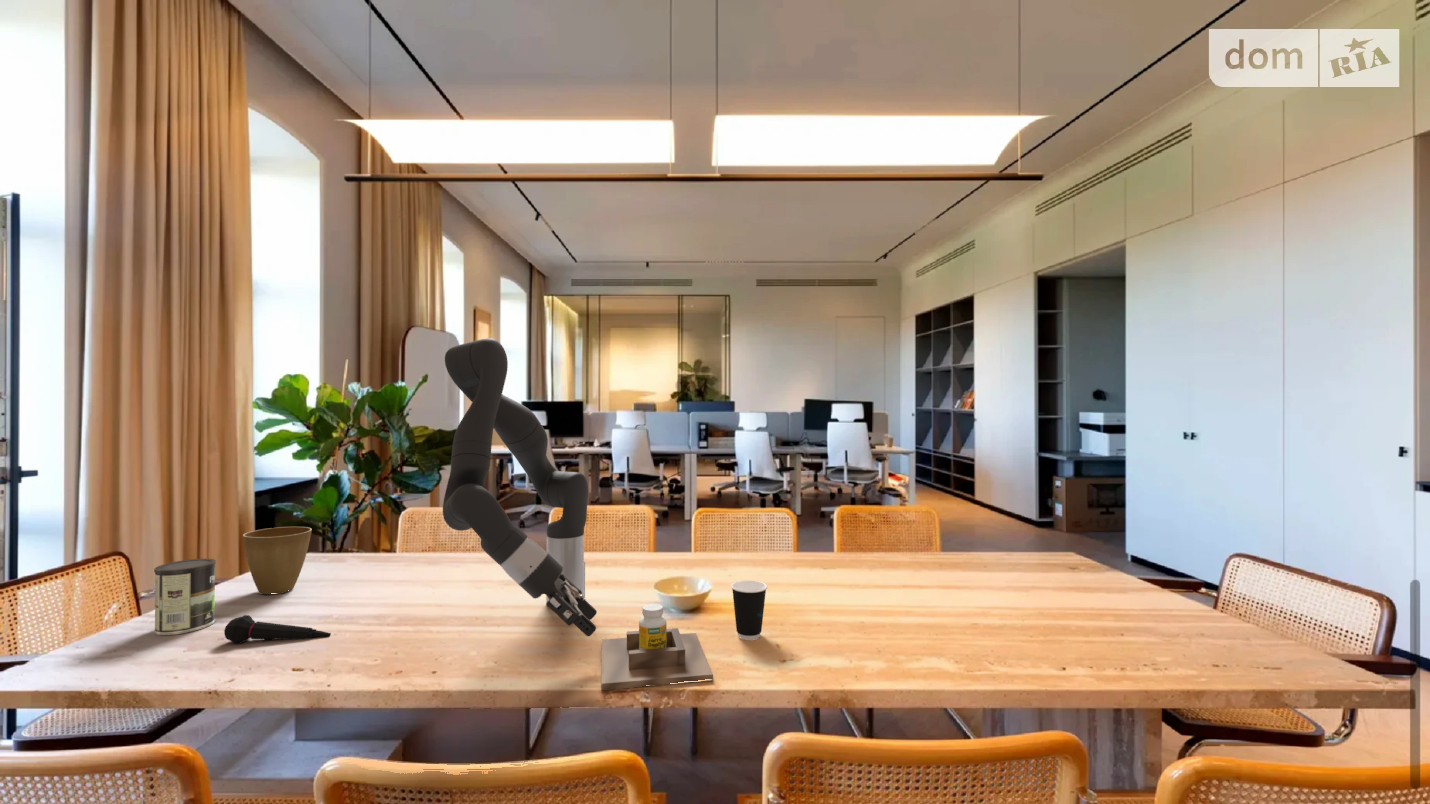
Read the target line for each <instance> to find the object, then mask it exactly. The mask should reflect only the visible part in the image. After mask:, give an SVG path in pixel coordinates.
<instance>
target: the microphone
mask: <svg viewBox="0 0 1430 804" xmlns="http://www.w3.org/2000/svg"><path fill="white" fill-rule="evenodd" d="M223 633H224V637H225V639H226V640H228V641H230V642H232V643H233V644H234V645H235V644H236V645H237V644H241V643H243V642H245V641H247V640H249V639H252V640H264V641H274V640H305V638H307V639H313V638H325V637H330V636H331V635H332V633H331V632H327V631H322V630H317V628H316V629H315V628H312V627H307V626H297V625H289V624H282V623H272V622H265V621H255V620H254V619H253V617H251V616H250V615H248V614H244V615H243V616H239V617H236V618H235V617H234V618H233V619H231V620H230V621H229V622H228V623H227V624H226V626H225V627H224V630H223ZM307 639H306V640H307Z"/></svg>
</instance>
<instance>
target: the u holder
mask: <svg viewBox="0 0 1430 804" xmlns="http://www.w3.org/2000/svg"><path fill="white" fill-rule="evenodd" d="M704 651H705V650H704V649H703V646H702V644H701V642H700V640H699V637H698V634H697V632H689V633H680V630H679V628H678V627H676V628H673V627H672V628H666V648H658V649H644V650H639V630H627V631H626V637H617V638H605V639H602V638H601V671H600V672H601V675H600V676H601V680H600V681H601V688H600V689H601V690H600V691H610V690H611V691H613V690H626V689H634V688H633V687H637V688H643V687H642V686H646V685H661V686H665V685H664V684H670V683H678V682H684V681H698V680H705V679H713V680H714V673H713V671H712V668H711V666H710V664H709V661H708V659H707V657H706V654H705V652H704Z"/></svg>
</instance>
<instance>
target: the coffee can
mask: <svg viewBox="0 0 1430 804" xmlns="http://www.w3.org/2000/svg"><path fill="white" fill-rule="evenodd" d="M216 564H217V563H216V560H215V559H213V558H192V559H184V560H177V561H172V562H168V563H163V564H161V565H158V566H156V567H154V568H153V572H154V632H153V633H154V634H155V635H157V636H173V635H181V634H186V633H190V632H192V633H193V632H194V631H199V630H202V629H205V628H208V627H210V626H212V625H213V624H214V623H215V622H216V618H215V615H216V614H215V611H216V610H215V609H216V608H215V607H216V605H215V602H216V601H215V598H216V595H215V592H216V590H215V589H216V585H215V584H216V582H215V581H216V580H215V579H216Z"/></svg>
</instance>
